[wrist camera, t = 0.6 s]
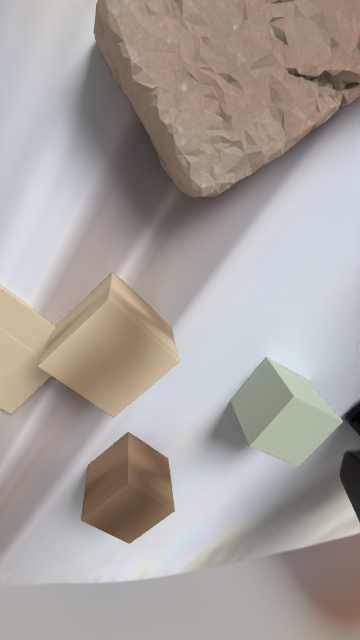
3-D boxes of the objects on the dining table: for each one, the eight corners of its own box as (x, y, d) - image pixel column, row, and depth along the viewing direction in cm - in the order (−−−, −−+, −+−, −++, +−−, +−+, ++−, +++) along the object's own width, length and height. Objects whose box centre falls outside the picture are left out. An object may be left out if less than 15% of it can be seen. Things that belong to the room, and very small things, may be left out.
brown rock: (185, 202, 18) (203, 214, 14) (87, 37, 15) (70, -14, 10) (464, 8, 16) (582, -46, 12) (430, -241, 13) (583, -444, 8)
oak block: (170, 324, 21) (179, 362, 17) (116, 371, 22) (113, 417, 18) (112, 270, 19) (108, 299, 15) (56, 325, 20) (38, 366, 16)
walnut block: (167, 457, 26) (174, 511, 22) (129, 487, 27) (129, 543, 23) (128, 430, 25) (128, 483, 21) (88, 463, 25) (80, 520, 21)
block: (308, 379, 25) (343, 421, 21) (272, 419, 26) (298, 466, 22) (265, 356, 23) (294, 396, 19) (229, 400, 25) (249, 446, 21)
